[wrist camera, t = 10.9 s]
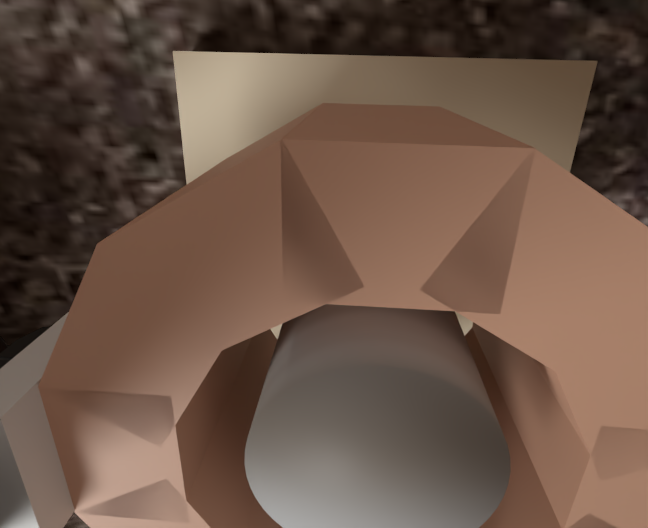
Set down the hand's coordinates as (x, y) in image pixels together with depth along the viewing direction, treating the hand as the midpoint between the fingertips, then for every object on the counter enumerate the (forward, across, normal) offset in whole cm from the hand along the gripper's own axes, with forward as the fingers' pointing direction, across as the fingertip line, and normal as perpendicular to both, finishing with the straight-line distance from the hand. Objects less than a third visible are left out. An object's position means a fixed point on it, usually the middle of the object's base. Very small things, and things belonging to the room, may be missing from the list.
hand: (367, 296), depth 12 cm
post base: (+5, 0, 0) cm, 5 cm away
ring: (0, 0, 0) cm, 0 cm away
